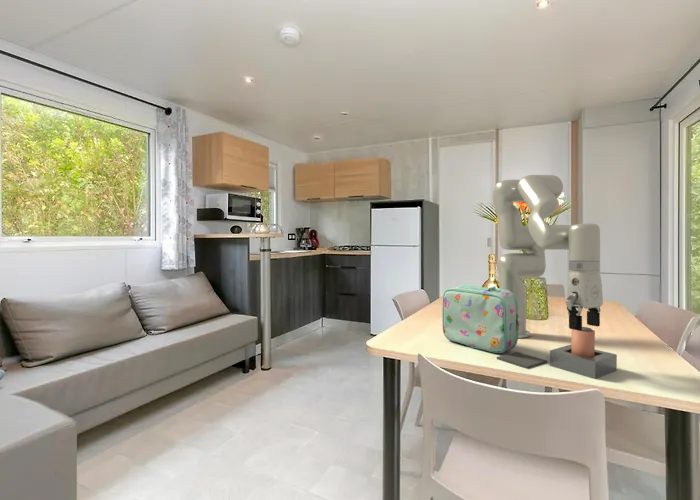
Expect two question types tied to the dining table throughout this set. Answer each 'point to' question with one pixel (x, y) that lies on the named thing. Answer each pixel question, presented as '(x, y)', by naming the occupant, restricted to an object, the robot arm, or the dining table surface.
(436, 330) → the dining table surface
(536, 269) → the robot arm
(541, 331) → the dining table surface
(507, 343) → the lunch box
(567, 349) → the housing
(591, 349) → the orange cylinder
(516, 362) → the mat
